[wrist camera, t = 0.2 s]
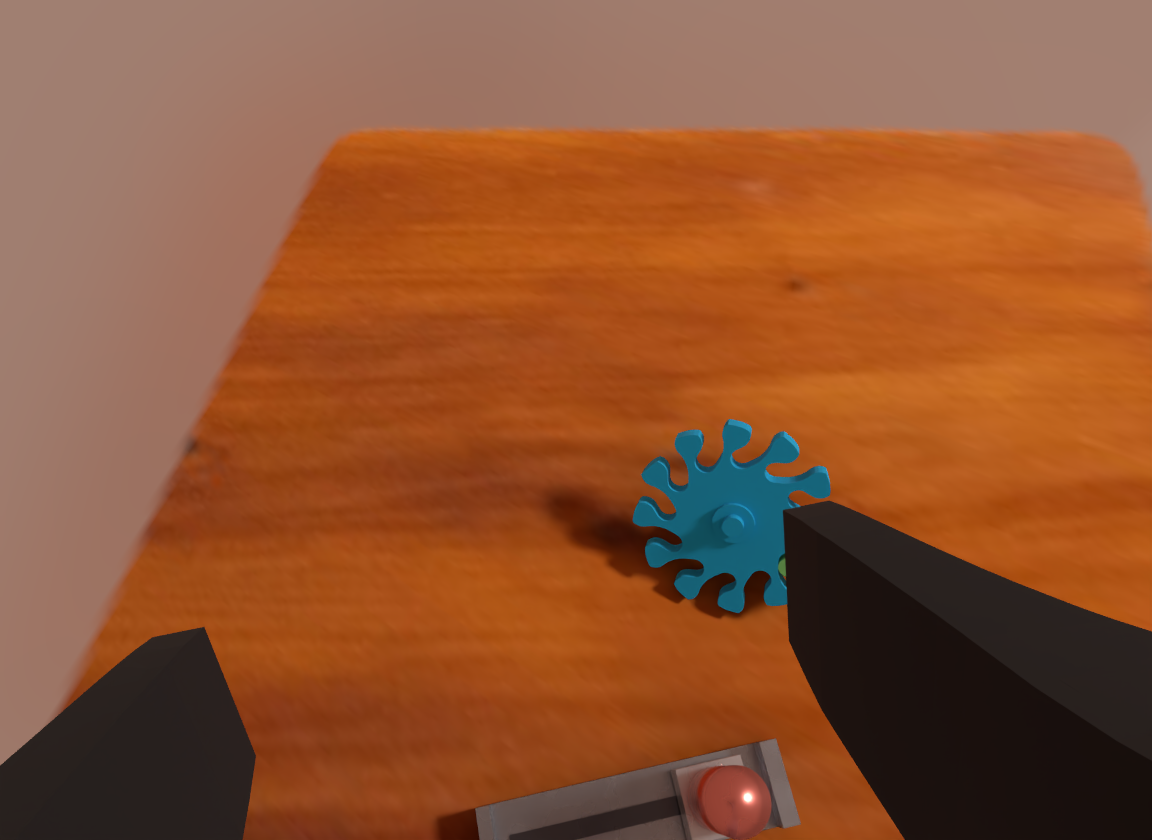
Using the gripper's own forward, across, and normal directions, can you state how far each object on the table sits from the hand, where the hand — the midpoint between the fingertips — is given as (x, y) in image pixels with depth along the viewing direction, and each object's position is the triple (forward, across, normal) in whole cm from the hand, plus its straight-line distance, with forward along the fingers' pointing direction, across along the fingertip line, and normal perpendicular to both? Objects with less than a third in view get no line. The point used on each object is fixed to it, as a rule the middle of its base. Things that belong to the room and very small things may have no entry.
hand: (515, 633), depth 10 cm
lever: (+18, -6, +25) cm, 32 cm away
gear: (+27, -10, +17) cm, 34 cm away
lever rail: (+18, -2, +25) cm, 31 cm away
